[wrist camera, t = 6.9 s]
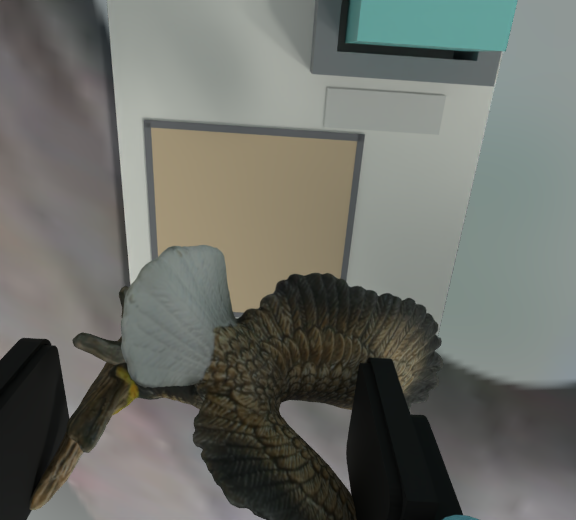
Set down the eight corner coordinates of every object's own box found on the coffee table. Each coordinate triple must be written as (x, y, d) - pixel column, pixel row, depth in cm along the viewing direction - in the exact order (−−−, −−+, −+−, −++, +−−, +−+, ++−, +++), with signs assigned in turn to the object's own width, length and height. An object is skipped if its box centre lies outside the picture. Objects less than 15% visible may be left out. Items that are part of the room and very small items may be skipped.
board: (539, -145, 17) (597, -191, 14) (427, 354, 26) (447, 397, 23) (99, -179, 17) (52, -235, 14) (139, 337, 26) (117, 379, 22)
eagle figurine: (94, 462, 14) (375, 582, 14) (-87, 574, 7) (482, 829, 7) (198, 233, 15) (455, 335, 15) (133, 136, 8) (613, 324, 8)
